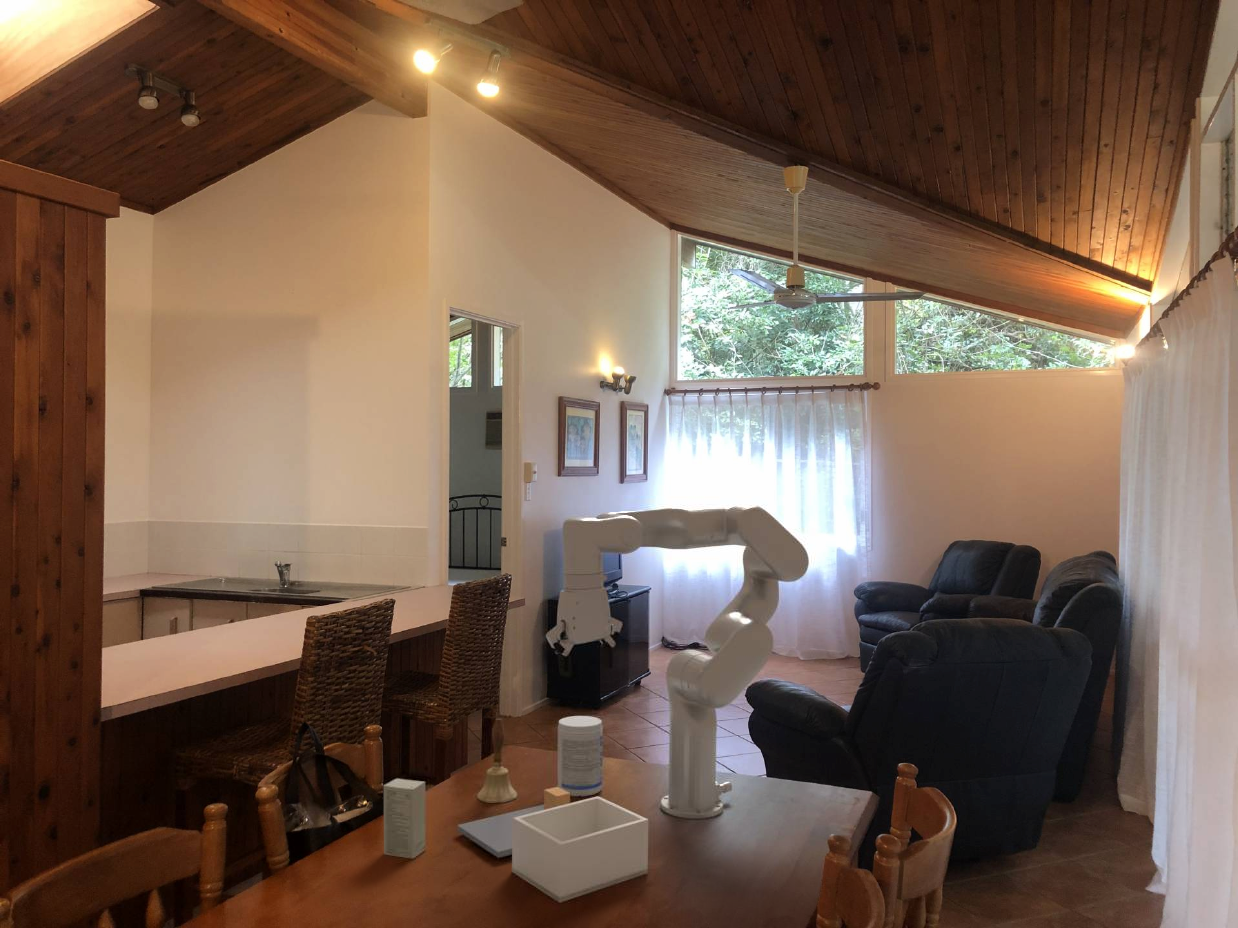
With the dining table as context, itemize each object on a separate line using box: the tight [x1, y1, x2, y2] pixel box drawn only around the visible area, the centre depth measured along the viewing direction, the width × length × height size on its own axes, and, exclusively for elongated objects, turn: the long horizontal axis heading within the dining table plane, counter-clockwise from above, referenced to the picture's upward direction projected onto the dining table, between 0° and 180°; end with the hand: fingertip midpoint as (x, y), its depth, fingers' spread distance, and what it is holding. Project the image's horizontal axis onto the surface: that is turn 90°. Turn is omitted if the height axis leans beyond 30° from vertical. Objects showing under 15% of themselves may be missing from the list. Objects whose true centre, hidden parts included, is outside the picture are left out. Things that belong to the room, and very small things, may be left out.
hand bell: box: [476, 717, 518, 804], centre depth 191 cm, size 8×8×16 cm
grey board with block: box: [456, 786, 571, 859], centre depth 170 cm, size 19×15×7 cm
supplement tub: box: [557, 715, 604, 798], centre depth 195 cm, size 10×10×15 cm
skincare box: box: [383, 777, 427, 860], centre depth 162 cm, size 6×4×12 cm
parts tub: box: [511, 796, 649, 904], centre depth 154 cm, size 18×14×9 cm
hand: (586, 671), depth 176 cm, fingers open, 9 cm apart
